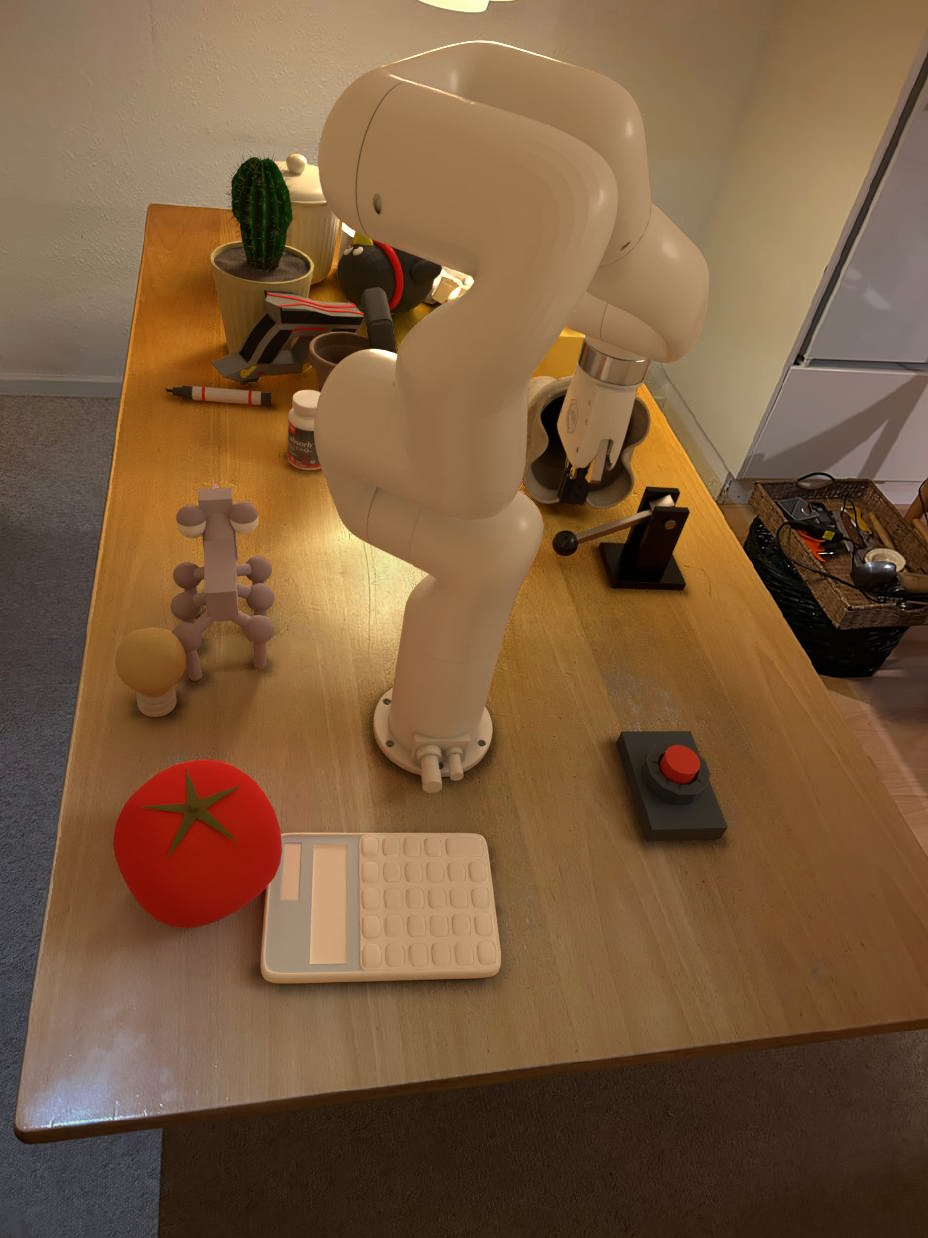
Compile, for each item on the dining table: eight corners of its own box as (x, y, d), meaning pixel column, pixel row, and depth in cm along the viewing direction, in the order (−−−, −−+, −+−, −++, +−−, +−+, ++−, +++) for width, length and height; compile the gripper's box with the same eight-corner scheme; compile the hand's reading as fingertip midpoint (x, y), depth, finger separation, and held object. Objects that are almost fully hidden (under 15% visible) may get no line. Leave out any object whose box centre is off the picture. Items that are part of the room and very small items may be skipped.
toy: (459, 209, 149) (380, 233, 136) (468, 304, 157) (395, 334, 145) (376, 208, 160) (296, 230, 147) (388, 297, 169) (314, 324, 156)
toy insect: (177, 559, 103) (167, 464, 93) (267, 557, 105) (267, 465, 96) (173, 685, 89) (162, 590, 80) (277, 679, 92) (278, 586, 83)
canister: (361, 278, 166) (369, 161, 152) (300, 304, 154) (303, 181, 140) (288, 246, 171) (290, 130, 157) (224, 270, 159) (219, 147, 145)
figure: (468, 334, 163) (464, 269, 179) (490, 302, 158) (484, 237, 174) (408, 301, 158) (410, 237, 174) (430, 267, 153) (429, 204, 169)
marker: (271, 401, 130) (271, 389, 129) (271, 408, 129) (270, 396, 127) (166, 393, 127) (165, 381, 126) (164, 400, 126) (163, 387, 124)
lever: (558, 565, 111) (551, 546, 108) (553, 548, 113) (546, 529, 111) (680, 524, 108) (676, 505, 106) (672, 508, 111) (668, 488, 108)
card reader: (371, 368, 140) (357, 287, 128) (395, 364, 140) (384, 283, 128) (378, 405, 135) (364, 325, 123) (403, 401, 135) (392, 320, 123)
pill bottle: (279, 461, 120) (279, 398, 113) (302, 444, 124) (304, 382, 117) (313, 477, 118) (315, 414, 112) (336, 459, 122) (339, 397, 116)
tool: (203, 374, 129) (234, 287, 120) (326, 370, 148) (362, 294, 139) (220, 395, 127) (254, 308, 118) (343, 388, 146) (379, 313, 137)
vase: (474, 326, 130) (516, 377, 107) (610, 313, 133) (681, 360, 109) (480, 461, 142) (519, 534, 118) (605, 446, 144) (668, 515, 121)
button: (699, 784, 86) (705, 774, 85) (665, 784, 85) (671, 774, 84) (688, 754, 89) (693, 744, 87) (655, 755, 88) (661, 744, 87)
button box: (720, 839, 86) (734, 817, 83) (645, 841, 85) (658, 819, 82) (684, 743, 94) (696, 720, 92) (615, 743, 93) (626, 720, 90)
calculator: (500, 980, 72) (505, 970, 71) (259, 987, 69) (258, 977, 68) (483, 840, 82) (487, 829, 80) (270, 840, 78) (270, 829, 77)
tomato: (218, 785, 82) (212, 707, 74) (309, 884, 76) (314, 812, 68) (92, 865, 74) (70, 788, 66) (182, 982, 68) (170, 914, 60)
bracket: (612, 588, 111) (638, 517, 103) (597, 548, 117) (622, 477, 109) (683, 590, 113) (715, 520, 105) (666, 551, 119) (695, 482, 111)
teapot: (607, 405, 145) (629, 335, 137) (494, 401, 140) (509, 328, 132) (584, 364, 155) (602, 296, 146) (477, 359, 150) (490, 288, 141)
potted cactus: (317, 335, 147) (324, 145, 126) (303, 380, 136) (308, 179, 115) (226, 321, 145) (218, 126, 125) (204, 365, 134) (192, 159, 114)
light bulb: (124, 734, 84) (111, 666, 77) (124, 685, 88) (111, 617, 81) (192, 727, 86) (185, 660, 79) (189, 679, 90) (182, 612, 83)
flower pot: (359, 384, 138) (364, 325, 131) (395, 420, 132) (402, 360, 125) (293, 396, 132) (295, 335, 125) (328, 435, 126) (332, 373, 119)
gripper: (565, 325, 96) (529, 464, 108) (597, 392, 85) (553, 537, 97) (628, 332, 97) (585, 468, 110) (667, 398, 87) (614, 541, 99)
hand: (570, 500), depth 103 cm, fingers closed
